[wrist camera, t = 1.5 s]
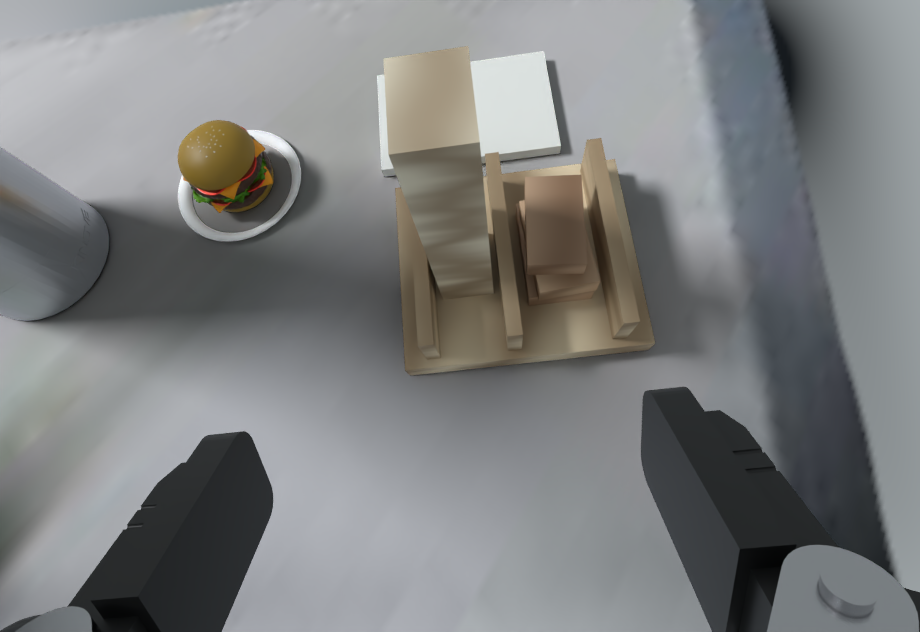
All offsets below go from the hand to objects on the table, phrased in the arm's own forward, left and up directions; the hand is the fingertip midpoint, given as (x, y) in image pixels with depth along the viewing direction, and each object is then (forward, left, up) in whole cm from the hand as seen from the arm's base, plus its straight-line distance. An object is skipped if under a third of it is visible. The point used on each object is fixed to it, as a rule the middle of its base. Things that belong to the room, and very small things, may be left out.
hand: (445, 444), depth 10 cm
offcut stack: (+5, +12, -17) cm, 21 cm away
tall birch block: (0, +12, -17) cm, 21 cm away
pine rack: (+3, +12, -19) cm, 22 cm away
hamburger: (-15, +20, -20) cm, 32 cm away
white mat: (+1, +24, -19) cm, 30 cm away
